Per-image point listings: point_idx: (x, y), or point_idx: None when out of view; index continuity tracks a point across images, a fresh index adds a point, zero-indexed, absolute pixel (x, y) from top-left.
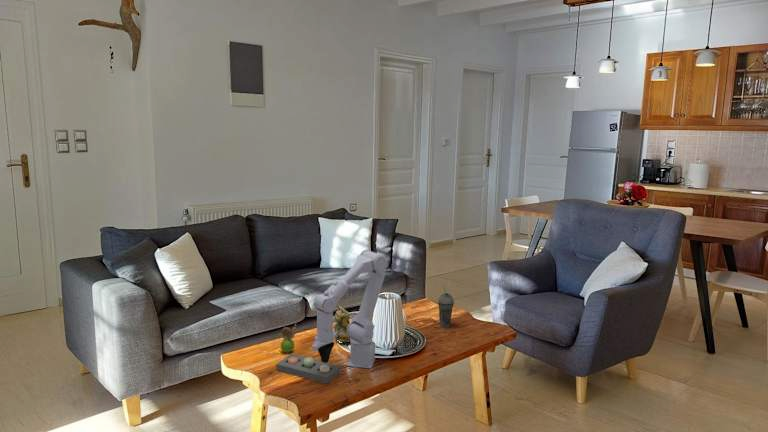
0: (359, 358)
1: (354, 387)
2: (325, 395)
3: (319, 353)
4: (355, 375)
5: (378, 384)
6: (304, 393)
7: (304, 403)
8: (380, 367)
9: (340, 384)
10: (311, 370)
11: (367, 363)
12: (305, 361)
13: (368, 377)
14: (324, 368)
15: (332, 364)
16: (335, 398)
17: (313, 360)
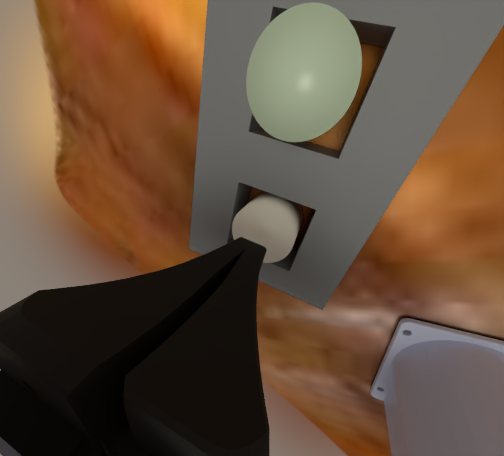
0: (399, 411)
1: None
2: (142, 236)
3: (173, 266)
4: (302, 331)
5: None
6: (116, 158)
7: (77, 178)
8: None
9: None
10: (227, 148)
11: (389, 404)
12: (250, 61)
13: (294, 363)
14: (243, 236)
15: (338, 268)
16: (144, 265)
17: (304, 140)
